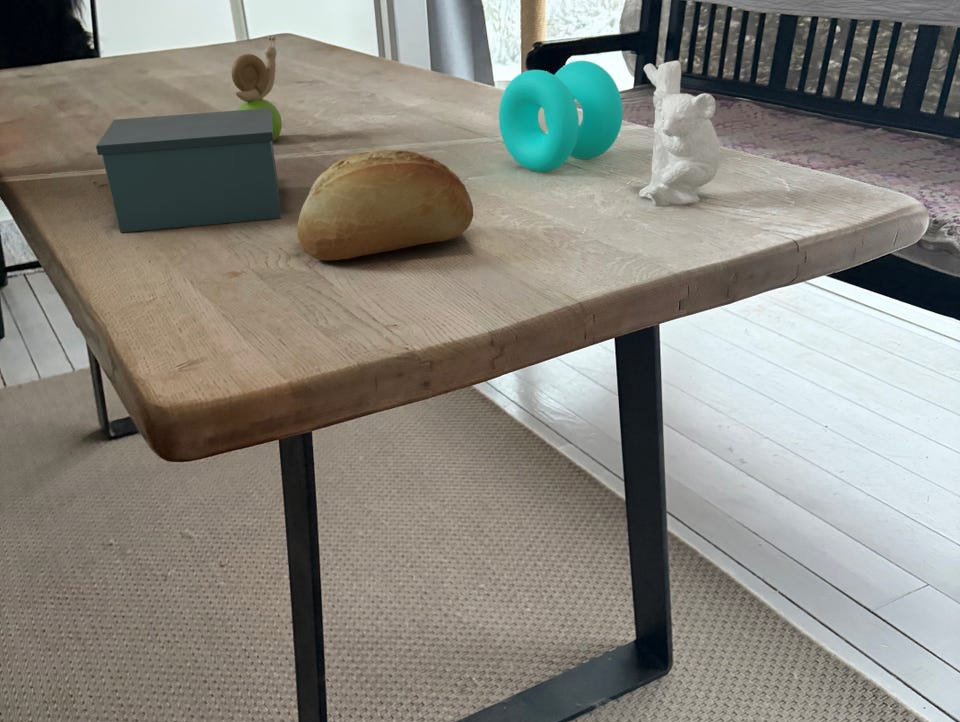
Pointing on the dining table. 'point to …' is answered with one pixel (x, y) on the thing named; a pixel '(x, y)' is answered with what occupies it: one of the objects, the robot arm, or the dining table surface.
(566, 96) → the donuts
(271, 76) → the snail figurine
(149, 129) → the container
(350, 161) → the bread roll
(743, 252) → the dining table surface
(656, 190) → the koala figurine
